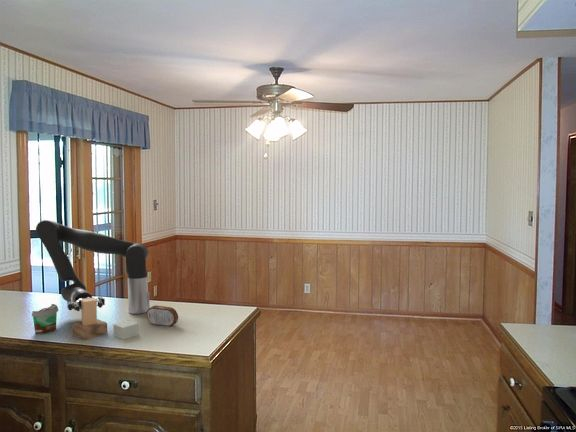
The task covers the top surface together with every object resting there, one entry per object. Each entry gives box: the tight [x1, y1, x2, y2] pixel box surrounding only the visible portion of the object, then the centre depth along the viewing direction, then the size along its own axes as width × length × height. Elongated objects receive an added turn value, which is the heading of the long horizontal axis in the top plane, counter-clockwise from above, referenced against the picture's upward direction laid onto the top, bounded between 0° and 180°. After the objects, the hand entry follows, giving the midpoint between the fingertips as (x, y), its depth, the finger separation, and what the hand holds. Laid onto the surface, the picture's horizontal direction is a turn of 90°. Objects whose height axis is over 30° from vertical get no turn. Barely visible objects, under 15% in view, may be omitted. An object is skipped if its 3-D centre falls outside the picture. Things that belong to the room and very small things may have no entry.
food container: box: [31, 303, 59, 335], centre depth 194 cm, size 12×6×10 cm, turn 168°
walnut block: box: [71, 318, 108, 341], centre depth 190 cm, size 10×10×5 cm
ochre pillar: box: [80, 297, 98, 326], centre depth 190 cm, size 5×5×10 cm
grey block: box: [113, 320, 139, 340], centre depth 189 cm, size 7×7×5 cm
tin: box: [146, 304, 179, 327], centre depth 202 cm, size 15×3×8 cm, turn 71°
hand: (89, 307), depth 188 cm, fingers open, 8 cm apart
